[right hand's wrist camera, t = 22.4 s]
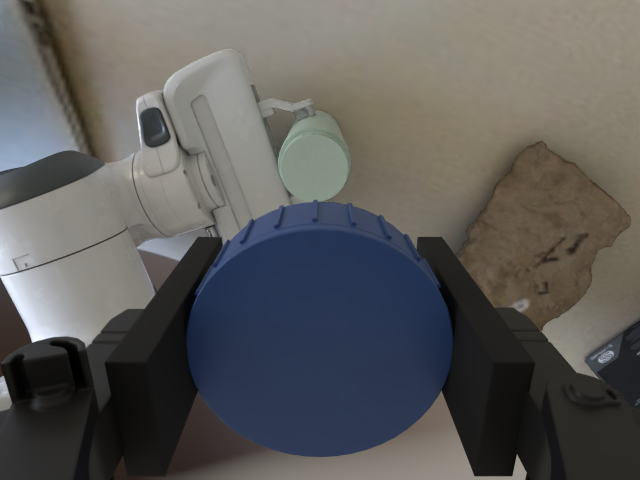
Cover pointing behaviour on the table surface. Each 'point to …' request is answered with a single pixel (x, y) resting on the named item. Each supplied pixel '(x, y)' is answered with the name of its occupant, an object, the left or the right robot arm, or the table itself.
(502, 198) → the stone
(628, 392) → the graphics card box
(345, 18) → the table surface
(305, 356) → the lid
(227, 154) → the left robot arm
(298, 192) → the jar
